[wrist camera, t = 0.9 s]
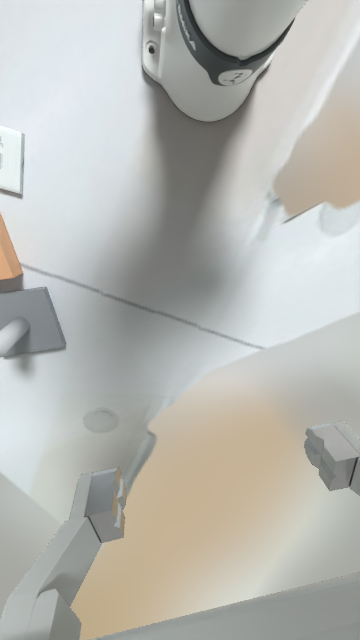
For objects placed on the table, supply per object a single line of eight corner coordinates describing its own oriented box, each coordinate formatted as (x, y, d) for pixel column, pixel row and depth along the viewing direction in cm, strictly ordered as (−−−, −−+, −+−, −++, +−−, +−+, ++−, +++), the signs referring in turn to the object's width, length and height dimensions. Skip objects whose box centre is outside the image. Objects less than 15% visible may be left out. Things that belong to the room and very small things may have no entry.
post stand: (-23, 296, 44) (-68, 320, 35) (46, 286, 45) (20, 307, 36) (4, 353, 50) (-29, 387, 40) (66, 343, 50) (47, 374, 41)
